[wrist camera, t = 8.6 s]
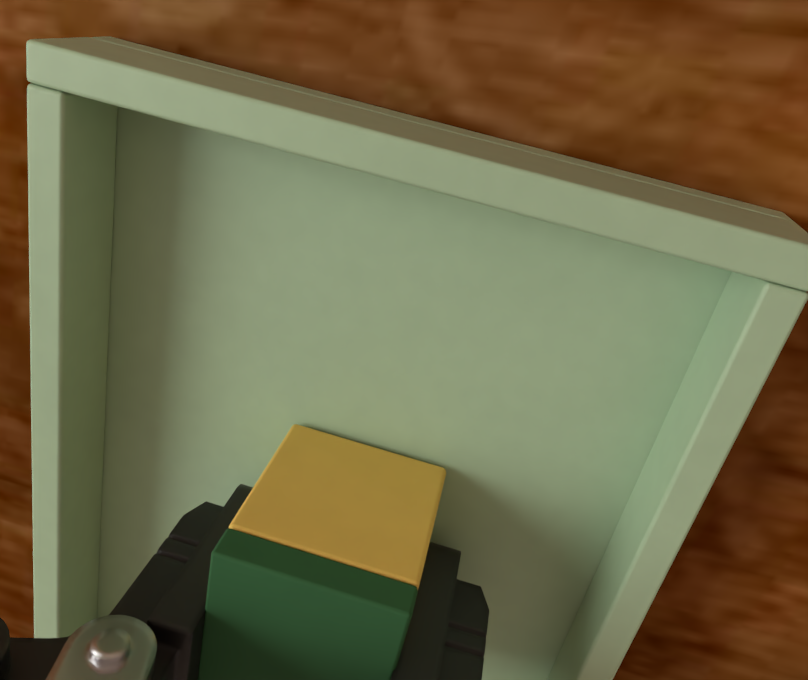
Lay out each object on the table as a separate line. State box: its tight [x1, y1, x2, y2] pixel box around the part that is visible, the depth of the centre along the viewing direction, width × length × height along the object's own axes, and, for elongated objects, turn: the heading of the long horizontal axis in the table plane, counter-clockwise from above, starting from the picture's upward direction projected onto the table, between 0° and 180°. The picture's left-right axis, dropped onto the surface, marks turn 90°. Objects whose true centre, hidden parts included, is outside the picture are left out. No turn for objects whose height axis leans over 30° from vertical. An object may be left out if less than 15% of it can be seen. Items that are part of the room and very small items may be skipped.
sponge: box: [198, 424, 446, 680], centre depth 13 cm, size 4×3×4 cm
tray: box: [26, 37, 808, 680], centre depth 14 cm, size 14×11×2 cm
